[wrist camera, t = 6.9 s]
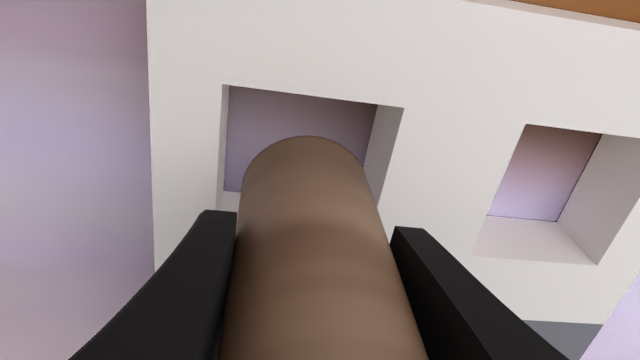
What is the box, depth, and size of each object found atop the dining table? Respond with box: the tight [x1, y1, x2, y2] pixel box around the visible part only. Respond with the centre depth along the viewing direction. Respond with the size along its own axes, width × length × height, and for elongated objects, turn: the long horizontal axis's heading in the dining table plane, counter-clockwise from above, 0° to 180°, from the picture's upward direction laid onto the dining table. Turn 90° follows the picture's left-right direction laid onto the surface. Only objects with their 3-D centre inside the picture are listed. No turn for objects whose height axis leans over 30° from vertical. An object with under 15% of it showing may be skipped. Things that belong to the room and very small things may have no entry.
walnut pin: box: [217, 136, 429, 360], centre depth 8 cm, size 3×3×7 cm
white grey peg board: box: [146, 0, 640, 360], centre depth 16 cm, size 20×16×2 cm
